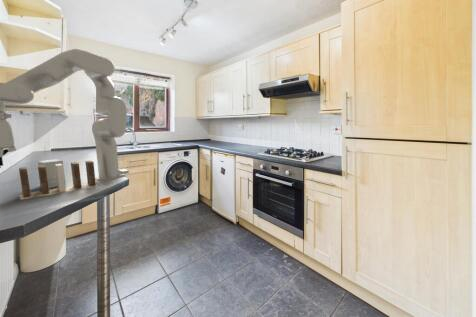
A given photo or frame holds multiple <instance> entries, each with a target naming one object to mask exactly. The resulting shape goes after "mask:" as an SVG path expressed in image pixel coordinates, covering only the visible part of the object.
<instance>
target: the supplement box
mask: <svg viewBox="0 0 476 317" xmlns="http://www.w3.org/2000/svg"><path fill="white" fill-rule="evenodd" d="M55 164H62V165H63V171H64V172H65V168H64V161H63V160H62V159H58V158H57V159H54V158H53V159H46V160H38V161H37V167H38V166H43V165H44V166H45V167H46V173H47V181H48V188H49V189H53V188H55V187H57V188H58V185H57V177H56V169H55ZM65 176H66V175H65V174H64V179H65V180H66V177H65ZM66 185H67V183H66V182H65V186H66Z"/></svg>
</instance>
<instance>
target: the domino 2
mask: <svg viewBox="0 0 476 317" xmlns="http://www.w3.org/2000/svg"><path fill="white" fill-rule="evenodd" d="M63 167H64V164H63V165H62V164H55V169H56V177H57V185H58V186H57V188H58V190H59V191H60V192H61V191H66V187H67V186H66V185H65V183H66V178H65V179H64V175H65V170H64V171H63Z"/></svg>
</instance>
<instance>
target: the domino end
mask: <svg viewBox="0 0 476 317" xmlns="http://www.w3.org/2000/svg"><path fill="white" fill-rule="evenodd" d="M18 171H19V178H20V183H21V184H20V185H21V191H22V194H23V197H24V198H26V197H31V194H30V193H31V187H30V181H29V174H28V169H27V166H25V167H24V166H23V167H18Z"/></svg>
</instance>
